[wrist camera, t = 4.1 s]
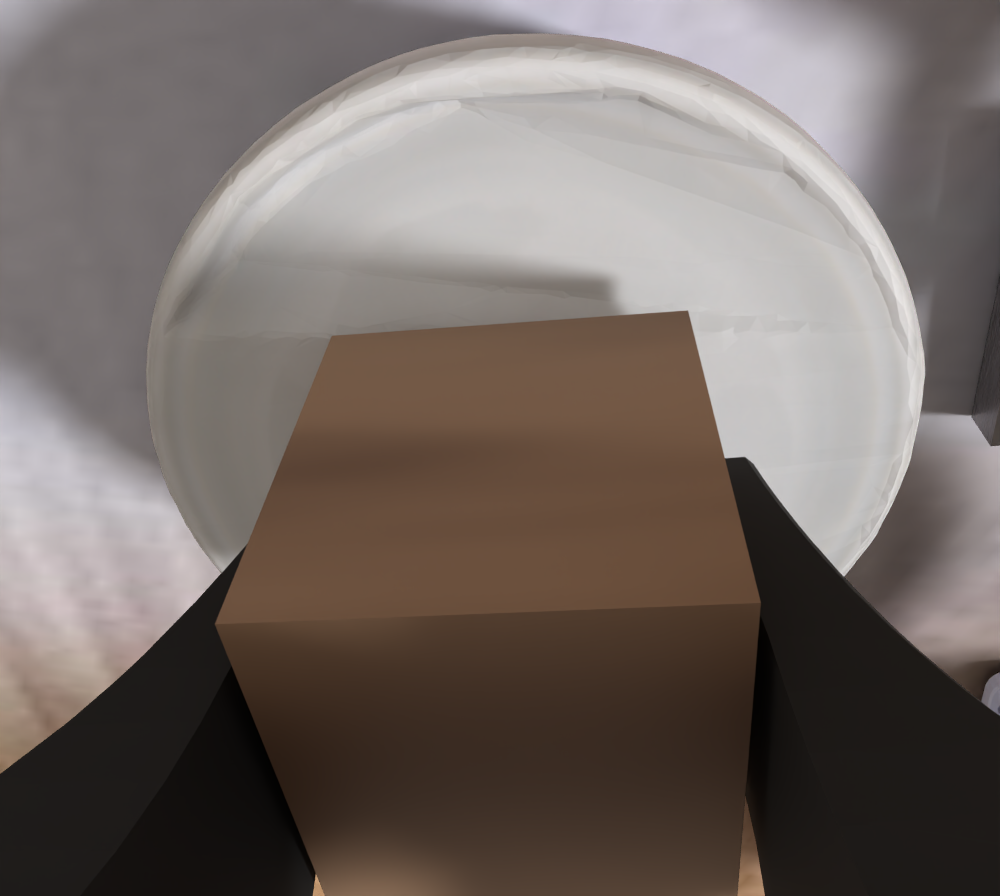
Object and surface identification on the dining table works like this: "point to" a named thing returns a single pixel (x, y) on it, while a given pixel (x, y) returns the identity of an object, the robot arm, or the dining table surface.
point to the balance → (990, 382)
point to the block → (505, 615)
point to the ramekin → (542, 265)
